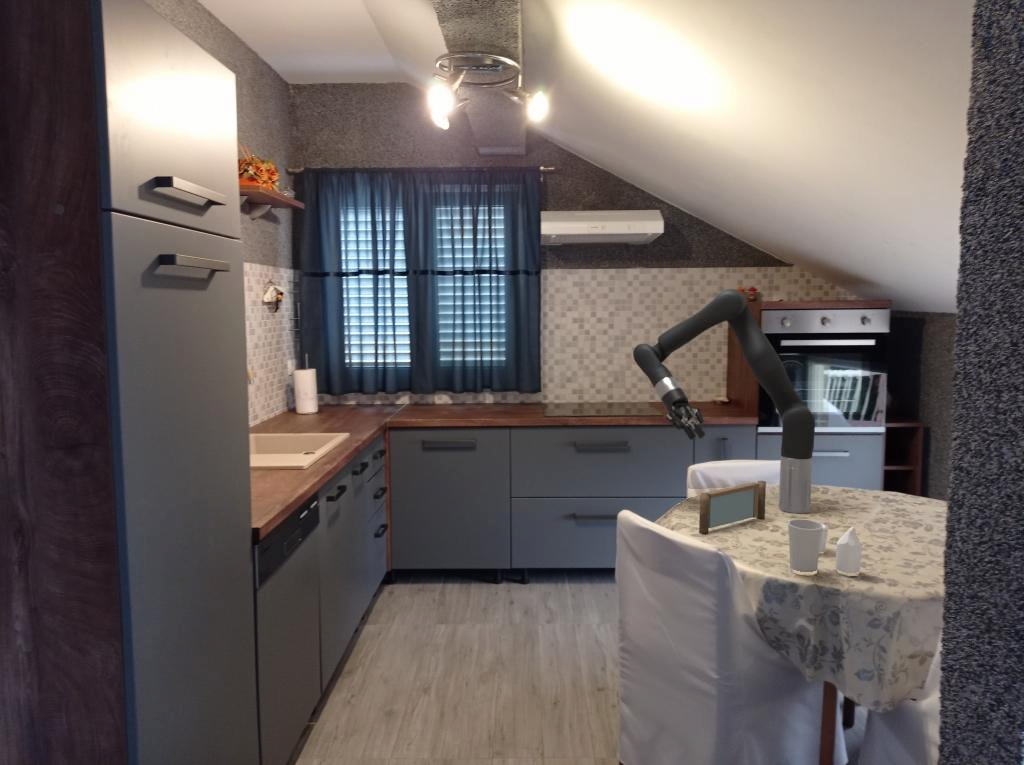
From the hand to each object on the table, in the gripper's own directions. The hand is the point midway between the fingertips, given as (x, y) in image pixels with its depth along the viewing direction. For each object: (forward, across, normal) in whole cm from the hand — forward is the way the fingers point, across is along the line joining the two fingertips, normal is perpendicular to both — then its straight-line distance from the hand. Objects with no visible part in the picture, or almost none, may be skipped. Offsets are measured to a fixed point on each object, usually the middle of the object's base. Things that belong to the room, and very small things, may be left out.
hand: (698, 437), depth 218 cm
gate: (+27, -1, +5) cm, 27 cm away
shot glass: (+46, +2, -12) cm, 47 cm away
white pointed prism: (+56, -4, -21) cm, 60 cm away
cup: (+51, -13, -17) cm, 55 cm away
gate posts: (+28, 0, +6) cm, 28 cm away
